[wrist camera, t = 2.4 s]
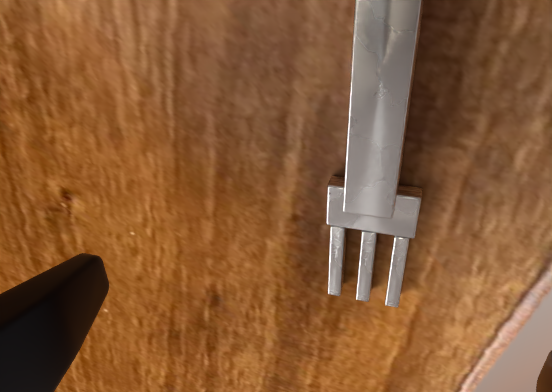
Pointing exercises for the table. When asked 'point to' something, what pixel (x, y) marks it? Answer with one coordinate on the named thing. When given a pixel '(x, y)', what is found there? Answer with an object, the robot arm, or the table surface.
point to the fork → (376, 145)
